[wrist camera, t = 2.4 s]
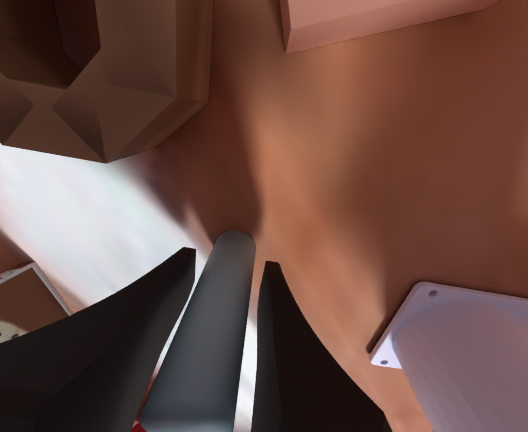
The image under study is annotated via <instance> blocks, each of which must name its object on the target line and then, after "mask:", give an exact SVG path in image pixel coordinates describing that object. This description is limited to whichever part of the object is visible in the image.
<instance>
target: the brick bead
mask: <svg viewBox="0 0 528 432" xmlns="http://www.w3.org/2000/svg"><path fill="white" fill-rule="evenodd" d="M498 1H501V0H280V8H281V17H282V26H283V35H284V44H285V53H286V54H289V53H293V52H298V51H302V50H307V49H311V48H315V47H320V46H324V45H329V44H333V43H337V42H342V41H346V40H351V39H355V38H359V37H364V36H368V35H373V34H377V33H382V32H386V31H390V30H395V29H399V28H404V27H408V26H412V25H417V24H421V23H426V22H430V21H434V20H439V19H443V18H448V17H452V16H457V15H461V14H465V13H470V12H474V11H479V10H482V9H484V8H486V7H488V6H490V5H492V4H494V3H496V2H498Z"/></svg>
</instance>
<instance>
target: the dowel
mask: <svg viewBox="0 0 528 432" xmlns="http://www.w3.org/2000/svg"><path fill="white" fill-rule="evenodd" d="M255 253H256V245H255V242H254V240H253V239H252V237H251V236H250V235H248V234H247V233H245V232H243V231H240V230H228V231H225V232H223V233H222V234H220V235H219V236H218V238H217V240H216V242H215V244H214V246H213V249H212V251H211V253H210V255H209V258H208V260H207V262H206V265H205V267H204V269H203V271H202V274H201V276H200V278H199V281H198V283H197V285H196V287H195V290H194V292H193V294H192V297H191V299H190V301H189V303H188V306H187V308H186V310H185V313H184V315H183V317H182V319H181V322H180V324H179V326H178V329H177V331H176V333H175V335H174V338H173V340H172V342H171V344H170V347H169V349H168V351H167V354H166V356H165V358H164V360H163V363H162V365H161V367H160V370H159V372H158V374H157V376H156V379H155V381H154V383H153V386H152V388H151V390H150V392H149V395H148V397H147V399H146V402H145V404H144V406H143V408H142V411H141V413H140V416H139V422H140V424H141V426H142V427H143V428H144V429H145V430H146V431H147V432H233V428H234V420H235V412H236V404H237V396H238V388H239V380H240V372H241V365H242V357H243V349H244V341H245V333H246V325H247V317H248V309H249V301H250V293H251V285H252V277H253V269H254V261H255Z"/></svg>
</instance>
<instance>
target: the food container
mask: <svg viewBox="0 0 528 432" xmlns="http://www.w3.org/2000/svg"><path fill="white" fill-rule="evenodd" d="M72 314H74V313H73V311H72V310H71V309H70V307H69V306H68V305H67V303H66V302H65V301H64V299H63V298H62V297H61V295H60V294H59V293H58V291H57V290H56V289H55V287H54V286H53V285H52V283H51V282H50V281H49V279H48V278H47V277H46V275H45V274H44V273H43V271H42V270H41V269H40V267H39V266H38V265H37V263H36V262H35V261H34V262H29V263H24V264H19V265H17V266H15V267H13V268H11V269H9V270H7V271H5V272H3V273H1V274H0V343H2V342H4V341H7V340H10V339H13V338H16V337H18V336H21V335H24V334H26V333H29V332H31V331H34V330H36V329H39V328H41V327H44V326H46V325H49V324H51V323H54V322H56V321H58V320H61V319H63V318H65V317H68V316H70V315H72Z"/></svg>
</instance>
